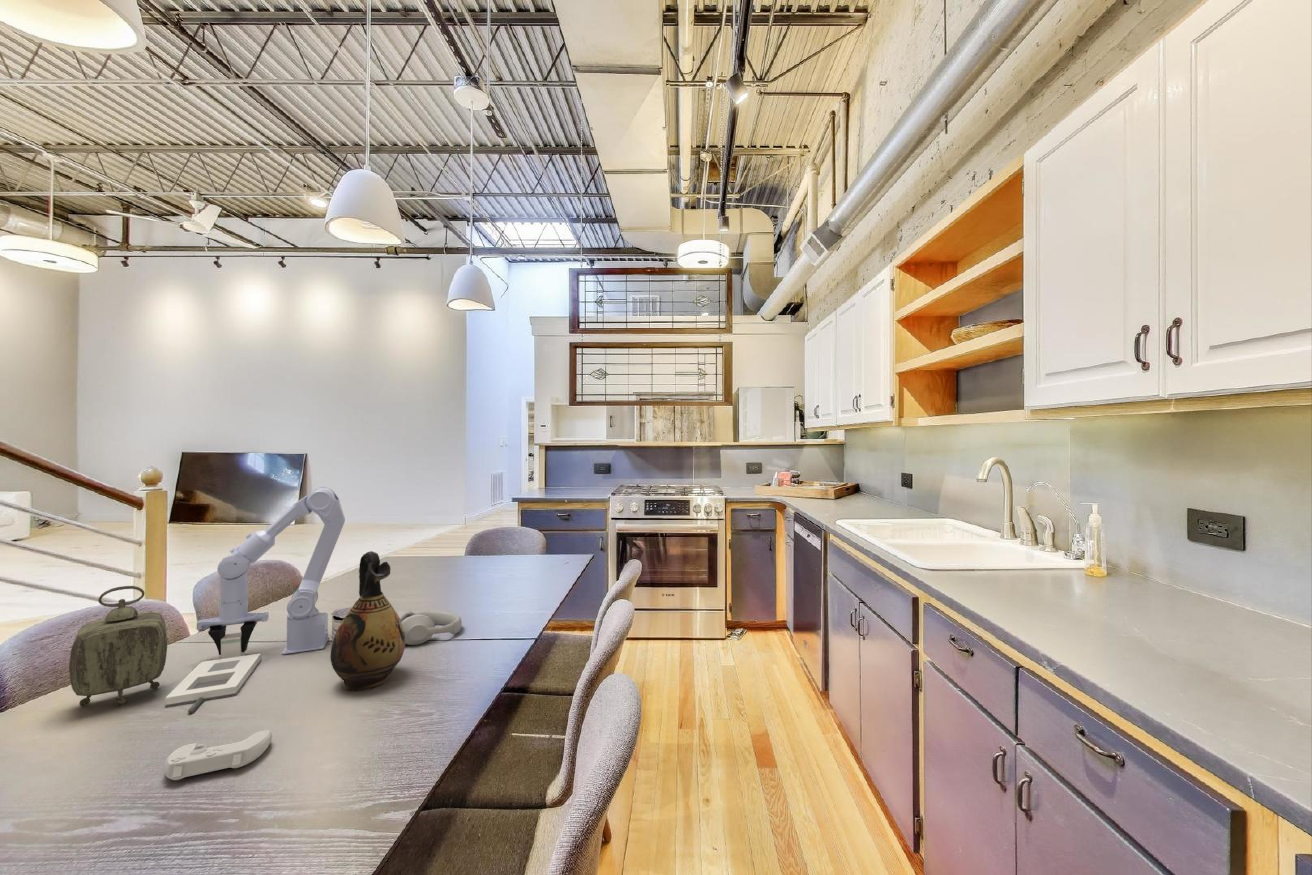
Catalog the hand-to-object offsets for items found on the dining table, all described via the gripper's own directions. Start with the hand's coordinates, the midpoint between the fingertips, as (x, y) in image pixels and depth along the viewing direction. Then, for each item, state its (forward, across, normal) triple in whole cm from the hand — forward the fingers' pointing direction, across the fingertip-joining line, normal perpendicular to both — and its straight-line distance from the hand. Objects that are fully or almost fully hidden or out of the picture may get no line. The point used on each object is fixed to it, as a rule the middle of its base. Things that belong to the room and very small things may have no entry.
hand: (233, 652), depth 133 cm
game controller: (+2, -12, +54) cm, 56 cm away
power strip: (+2, -1, +18) cm, 18 cm away
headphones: (+2, -46, +3) cm, 46 cm away
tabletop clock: (+2, +15, +18) cm, 23 cm away
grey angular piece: (+2, -29, +11) cm, 31 cm away
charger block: (+2, 0, 0) cm, 2 cm away
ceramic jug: (+2, -33, +29) cm, 44 cm away
